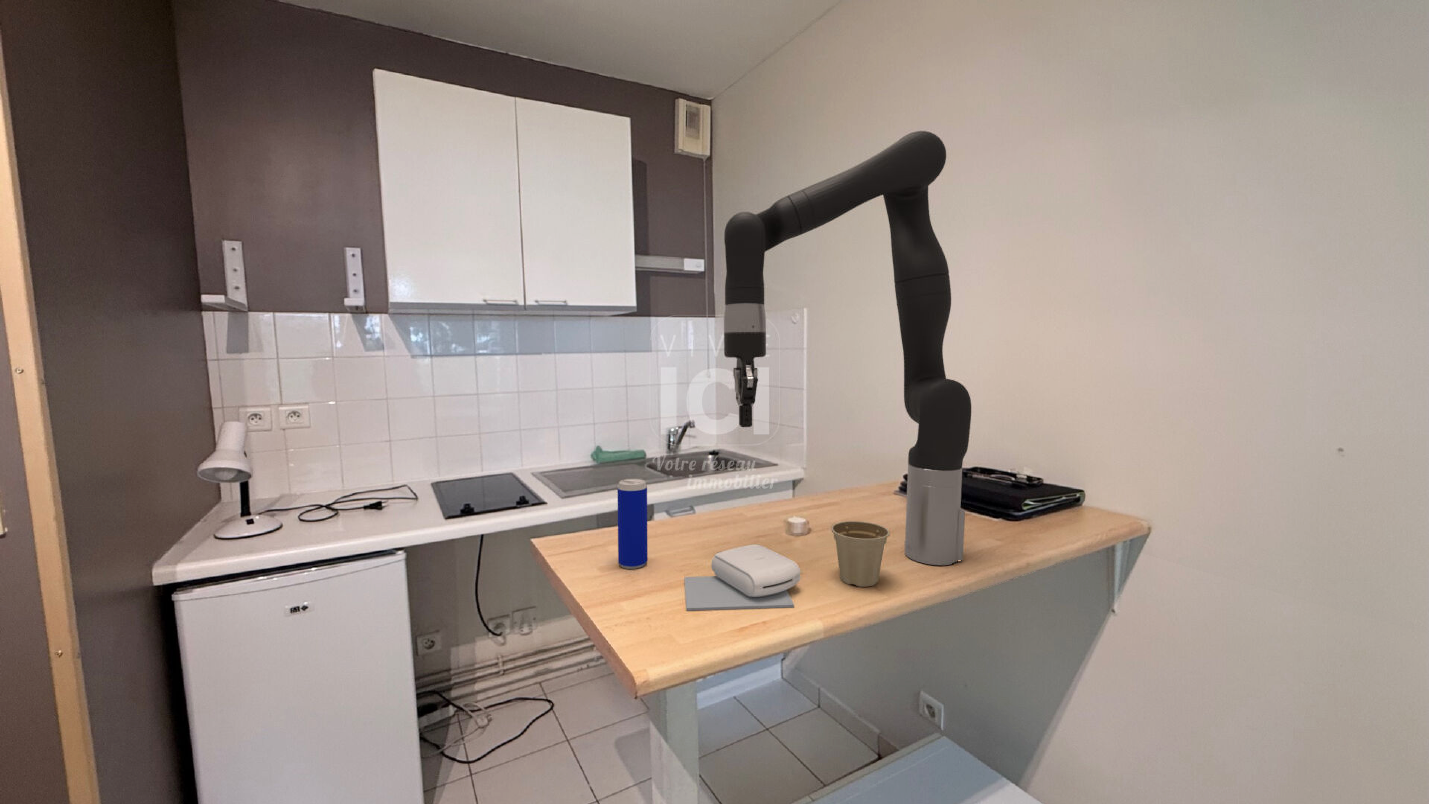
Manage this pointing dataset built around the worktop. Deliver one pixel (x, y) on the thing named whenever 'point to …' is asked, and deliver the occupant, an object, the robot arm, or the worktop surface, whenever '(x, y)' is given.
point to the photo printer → (756, 570)
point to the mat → (727, 596)
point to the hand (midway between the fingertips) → (745, 426)
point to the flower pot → (859, 551)
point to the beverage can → (632, 523)
